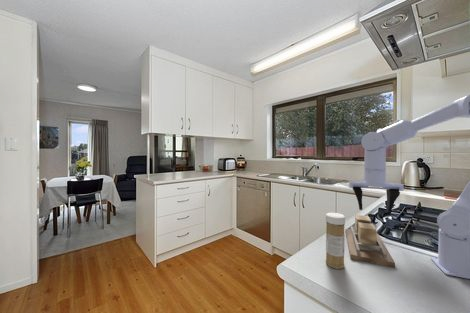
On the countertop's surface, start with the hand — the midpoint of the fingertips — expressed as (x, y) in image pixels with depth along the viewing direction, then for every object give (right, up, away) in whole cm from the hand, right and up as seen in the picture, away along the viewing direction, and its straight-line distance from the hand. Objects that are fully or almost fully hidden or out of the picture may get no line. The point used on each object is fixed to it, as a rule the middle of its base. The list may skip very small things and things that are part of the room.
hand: (374, 210), depth 66 cm
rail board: (-5, -11, -3) cm, 12 cm away
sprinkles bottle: (-19, -11, -13) cm, 26 cm away
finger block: (-5, -9, -4) cm, 12 cm away
